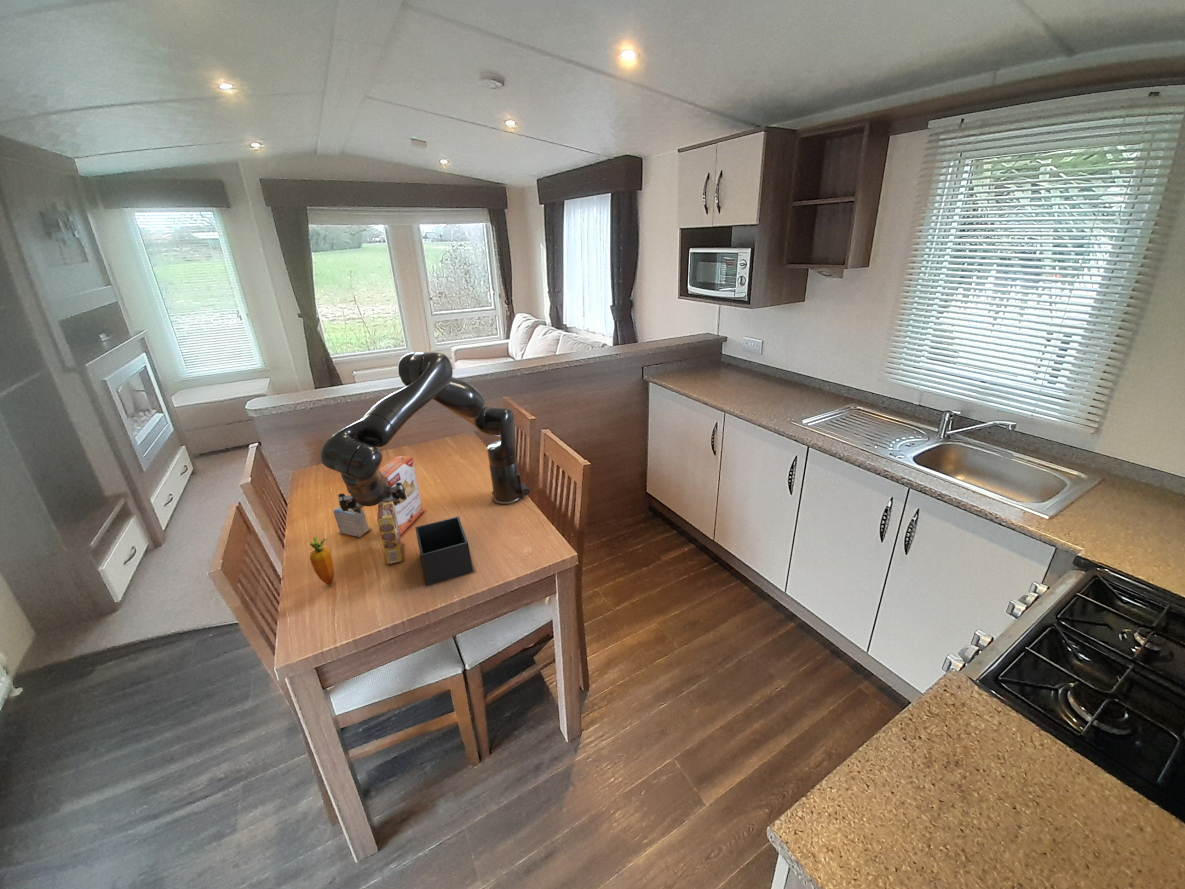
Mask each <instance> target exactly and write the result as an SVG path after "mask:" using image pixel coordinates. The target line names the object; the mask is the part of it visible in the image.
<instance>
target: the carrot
mask: <svg viewBox="0 0 1185 889" xmlns="http://www.w3.org/2000/svg"><path fill="white" fill-rule="evenodd" d="M326 540H327V538H322V540H321V541H320V543H319V540H318V537H317V536H313V541H314V542H313V541H311V542H310V543H309V545H310V547H312V548H313V550H312V551H311V552H310V553H309V561H310V563H311V566H312V568H313V570H314V572H315V574H316V576H318V578H319V579H320V580H321V581H322V582H323V583H324V584H326V585H328V586H331V585H332V584H333V582H334V578H335V567H334V560H333V556H332V553H331V550H330V548H328V547H324V546H323V544H324V542H325V541H326Z"/></svg>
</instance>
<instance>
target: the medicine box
mask: <svg viewBox="0 0 1185 889" xmlns="http://www.w3.org/2000/svg"><path fill="white" fill-rule="evenodd" d="M332 512H333V515H334V518H335V521H336V523H337V524H336V525H337V527H338V531H339V533H340V534H343V535H347V536H353V537H357V538H361V537H362V536H363V535H364V534H366V533H367V532H368V531H370V527H369V525H368V520H367V517H366V513H365V510H364V507H362V508H361V513H357V512H354V511H353V510H351V509H348V511H343V510H342V508H341V507H340V505H339V506H337V507H336V508H335V509H334V510H333V511H332Z"/></svg>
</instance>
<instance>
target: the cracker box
mask: <svg viewBox="0 0 1185 889" xmlns="http://www.w3.org/2000/svg"><path fill="white" fill-rule="evenodd" d="M379 471H380V472H381V473H382V475H383V478H384V480H385V482H386V485H387V486H389V487H390V488H391V487H395V485H396V483H402V485H403V487H404V489H405V494H406V499H401V498H400V499H399V500H400V503H397V505H396V506H395V505H394V503H393V505H394V510H395V515H396V519H397V524H398V528H399V533H400V536H402V534H404V532H405V531H406V530H407V529H408V528H409V527H410V526H411V525H412V524H413V523H414V522H415V521H416V520H417V519H418V518H419V517H420V515H421V514H422V513H423V512H424V510H423V505H422V501H421V495H420V490H419V484H418V479H417V473H416V469H415V464H414V459H413V457H412V456H400V455H397V456H395V457H394V458H392V459H391V460H390V461H388V462H387V463H386V464H384V465H383V466H382V467H380V468H379ZM391 502H393V501H391ZM382 503H386V502H380V503H379V504H382Z"/></svg>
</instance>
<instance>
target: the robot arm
mask: <svg viewBox="0 0 1185 889" xmlns="http://www.w3.org/2000/svg"><path fill="white" fill-rule="evenodd" d="M397 364H398V365H397V373H398V377H399V380H400V381H401V382H402V383H403V385H404V386H405V387H403V388H401V389H399V390H397V391H394V392H393V393H390V394H389V395H387V396H385V397H384V398H382V399H381V400H379V401H378V402H376V404H374V405H373V406H372V407H371V408H370V410H368V411H367V412H366V413H365V415H363V417H362V418H361V419H359V420H357V421H355V422H353V423H351V424H350V425H348V426H346V427H344V428H342V429H341V430H338V431H337V432H335V433H333V434H332V435H331V436H329V437H328V438H327V439H326V440H325V442H324V443H323V445H322V446H321V449H320V452H319V458H320V461H321V464H322V465H323V466H325V467H326V468H327V469H330V470H332V471H335V472H337V473H340V476H341V479H342V481H343V482H344V484H345V487H346V489H347V490H346V491H347V492H348V494H349V495H348V494H345V493H339V494H337V495H338V503H339V506H340V507H341V508H342V510H343V511H348V509H351V510H353V511H354V512H357V513H361V508H362V507H363V508H364V507H374V506H378V504H379V503H380V502H386V503H389V502H391V501H393V503H394V505H395V506H396V505H397V503H400V500H399V499H400V498H401V499H406V494H405V489H404V487H403V485H402V483H396V485H395V487H391V488H390V487H389V486H387V485H386V482H385V480H384V478H383V475H382V473H381V472H380V471H379V470H380V468H381V465H382V462H383V454H382V452H381V450H380V449H378V448H384V447H385V446H387V445H388V444H389V443H390V442H391V441H392V440H393V439H394V437H396V435H397V434H398V432H400V430H401V429H402V428H403V427H404V425H405V424H406V423H407V422H408V421H409V420H410V419H411V418H412V417H413V416H414V415H415V414H417V413H418V412H419V411H420V410H421V409H422V408H424V407H425V406H426V405H427V404H428V403H430V402H431V401H432V400H433V401H434V402H436V403H438V404H439V405H440V406H442V407H444V408H445V409H447V410H449V411H450V412H451V413H453V414H455V415H456V416H458V417H459V418H461V419H464V420H465V421H467V422H468V423H470V424H472V426H474V427H475V428H476V429H477V430H478V431H479V432H480V433H482V435H486V436H493V437H500V439H499V440H495V441H494V442H492V443H490V444H489V445H488V446H487V449H486V451H487V457H488V458H487V459H488V464H489V465H488V466H489V471H490V479H491V480H490V481H491V488H492V491H491V496H492V497H493V501H494V502H495V503H497V504H500V505H509V504H510V505H511V504H514V503H516V502H518V501H520V499H523V497H524V496H525V497H526V496H528V495H529V494H530V492H531V489H530V488H529V487H528V486H527V485H526V483H525V482H524V481H523V482H522V481H521V474H520V472H519V468H518V460H517V450H516V446H517V445H516V444H517V438H516V424H515V423H516V422H515V415H514V414H515V413H514V412H513V410H512V409H511V408H508V407H494V406H493V407H492V406H486V405H485V399H484V396H483V394H482V393H481V392H480V390H478V389H477V388H476V387H474V385H472V384H470V383H468V381H465V380H463V379H459V378H457V377H453V375H454V374H453V373H454V372H453V371H454V370H453V365H452V362H451V359H450V358H449V357H448V356H447V355H446V354H444V353H441V352H435V351H433V352H432V351H429V352H428V351H424V352H423V351H415V352H410V353H406V354H405V355H403V356H402V357H401V358H400V360H399V361H398V363H397Z"/></svg>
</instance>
